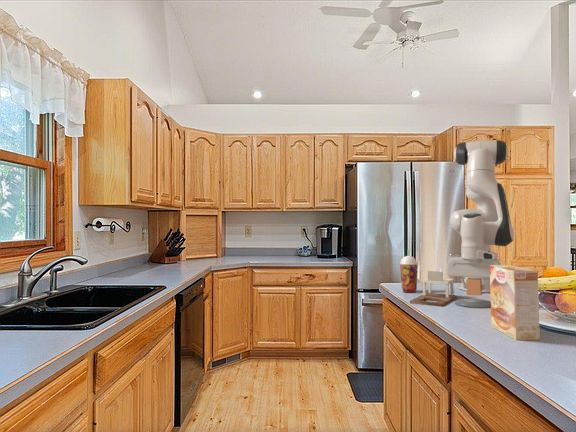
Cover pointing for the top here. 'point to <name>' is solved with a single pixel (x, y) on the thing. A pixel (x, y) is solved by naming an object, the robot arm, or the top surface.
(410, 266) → the smoothie
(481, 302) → the saucer
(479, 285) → the block
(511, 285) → the coffeecake box
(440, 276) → the cover
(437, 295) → the puzzle board
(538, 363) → the top surface
